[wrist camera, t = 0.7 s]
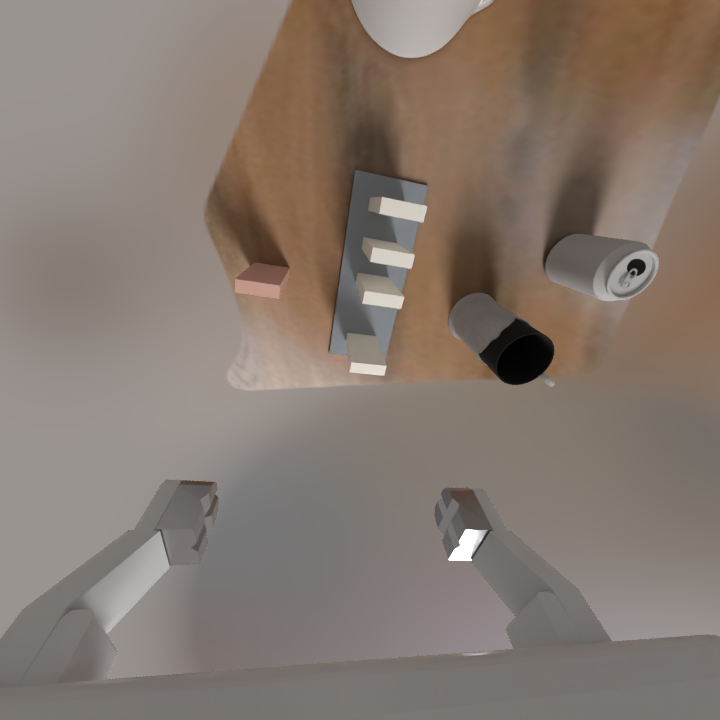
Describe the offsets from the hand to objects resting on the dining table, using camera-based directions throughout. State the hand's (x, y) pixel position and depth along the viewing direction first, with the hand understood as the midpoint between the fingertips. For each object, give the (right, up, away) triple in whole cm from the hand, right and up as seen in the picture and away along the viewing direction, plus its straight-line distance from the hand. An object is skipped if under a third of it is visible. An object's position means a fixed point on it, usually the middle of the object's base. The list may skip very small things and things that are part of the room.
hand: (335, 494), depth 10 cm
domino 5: (+1, +8, +38) cm, 39 cm away
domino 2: (+5, +26, +29) cm, 39 cm away
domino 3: (+4, +21, +31) cm, 38 cm away
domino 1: (-12, +18, +32) cm, 39 cm away
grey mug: (+22, +11, +40) cm, 47 cm away
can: (+34, +21, +35) cm, 53 cm away
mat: (+3, +17, +34) cm, 38 cm away
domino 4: (+3, +17, +34) cm, 38 cm away
